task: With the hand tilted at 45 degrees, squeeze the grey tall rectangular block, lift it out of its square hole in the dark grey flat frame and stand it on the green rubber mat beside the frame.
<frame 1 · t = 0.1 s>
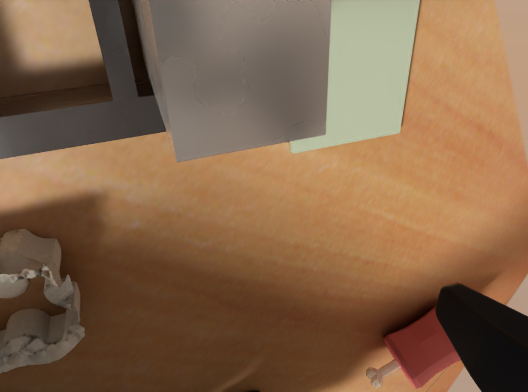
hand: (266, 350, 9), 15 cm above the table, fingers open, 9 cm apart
green mat: (349, 73, 23), on the table
meat: (411, 322, 38), on the table
dark grey flat frame: (108, 16, 18), on the table
grey tall rectangular block: (185, 8, 19), resting in dark grey flat frame
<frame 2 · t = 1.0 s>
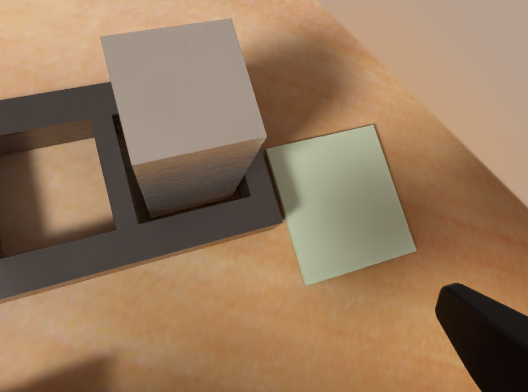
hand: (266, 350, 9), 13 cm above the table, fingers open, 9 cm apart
green mat: (339, 201, 25), on the table
dark grey flat frame: (120, 183, 22), on the table
grey tall rectangular block: (181, 169, 23), resting in dark grey flat frame
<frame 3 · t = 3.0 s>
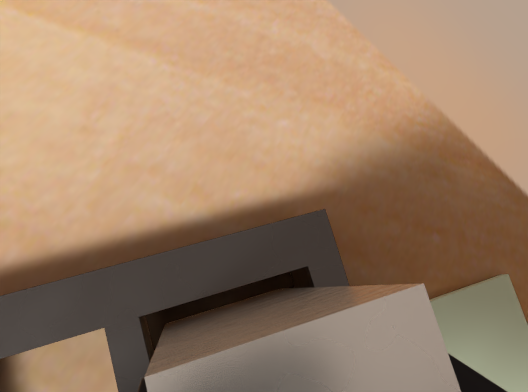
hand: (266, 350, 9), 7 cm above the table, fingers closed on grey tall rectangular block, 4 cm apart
grey tall rectangular block: (240, 365, 15), resting in dark grey flat frame, touching gripper
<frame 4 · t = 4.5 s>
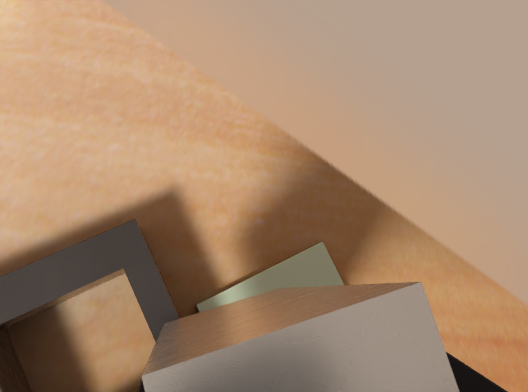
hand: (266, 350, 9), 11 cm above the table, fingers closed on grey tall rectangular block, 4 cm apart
green mat: (296, 347, 20), on the table
grey tall rectangular block: (239, 364, 15), point 5 cm above the table, touching gripper
when the fingers open (8 cm above the table, at t = 6.0 s): grey tall rectangular block stays where it is, resting on green mat.
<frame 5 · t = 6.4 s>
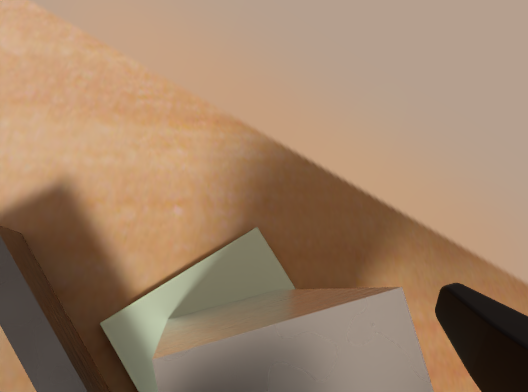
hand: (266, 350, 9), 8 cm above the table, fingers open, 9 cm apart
green mat: (235, 359, 17), on the table
grey tall rectangular block: (236, 361, 16), resting on green mat
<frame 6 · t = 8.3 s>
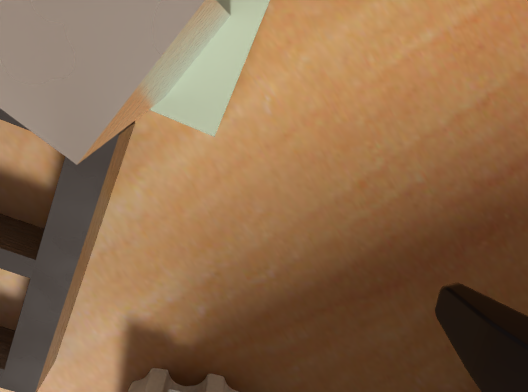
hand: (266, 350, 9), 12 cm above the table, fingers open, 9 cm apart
green mat: (155, 20, 17), on the table
grey tall rectangular block: (154, 20, 17), resting on green mat
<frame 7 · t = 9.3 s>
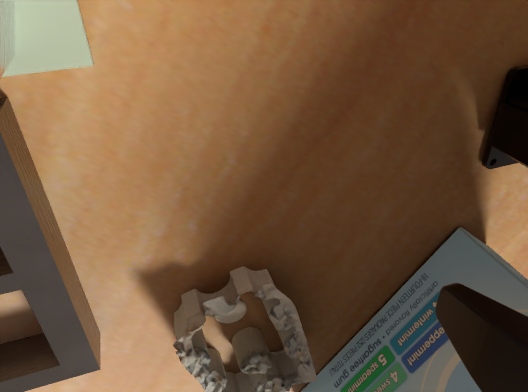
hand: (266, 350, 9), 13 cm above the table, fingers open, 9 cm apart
gum box: (385, 321, 34), on the table
egg carton: (239, 319, 29), on the table
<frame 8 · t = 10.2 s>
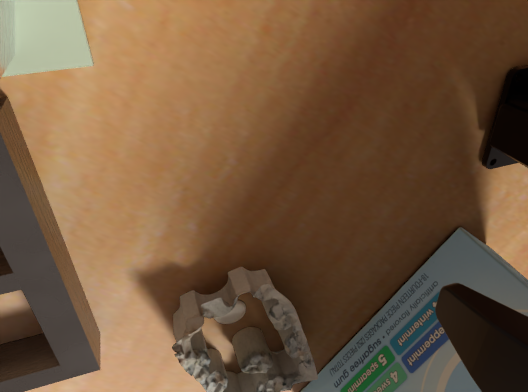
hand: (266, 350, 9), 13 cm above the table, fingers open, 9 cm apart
gum box: (385, 321, 34), on the table
egg carton: (239, 319, 29), on the table
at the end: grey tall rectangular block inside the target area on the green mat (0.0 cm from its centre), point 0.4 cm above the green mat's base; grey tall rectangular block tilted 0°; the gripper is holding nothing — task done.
